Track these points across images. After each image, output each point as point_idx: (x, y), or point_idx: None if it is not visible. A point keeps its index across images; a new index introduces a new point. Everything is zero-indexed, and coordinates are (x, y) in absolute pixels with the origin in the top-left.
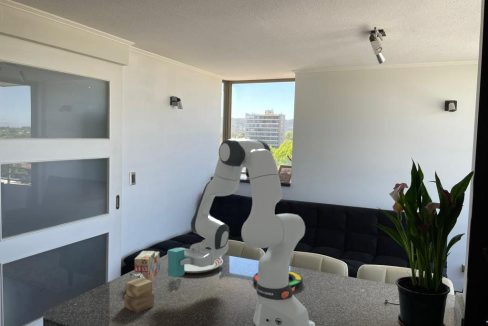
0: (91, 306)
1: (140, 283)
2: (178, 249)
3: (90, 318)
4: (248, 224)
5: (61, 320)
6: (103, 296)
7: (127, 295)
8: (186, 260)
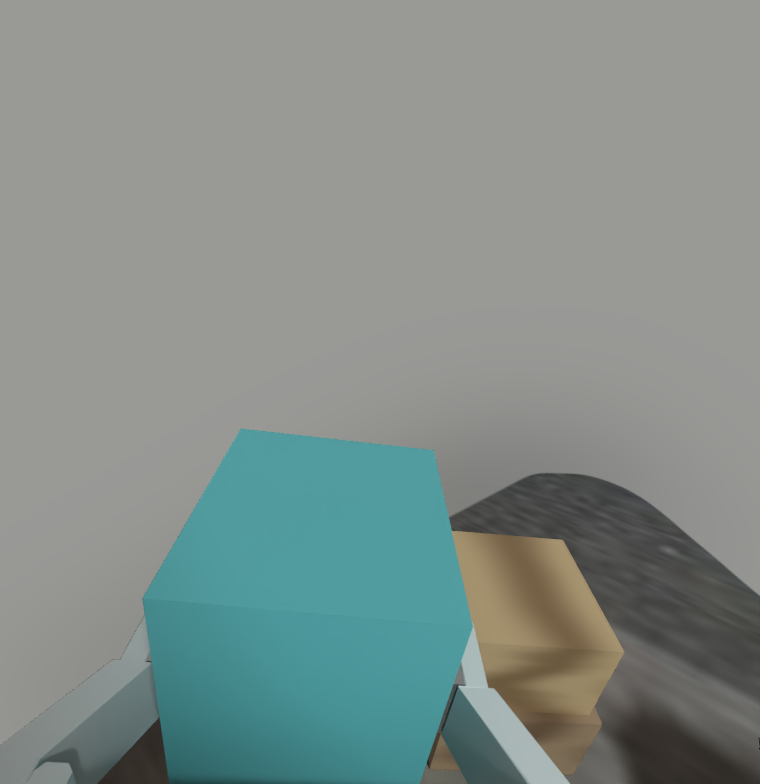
0: (613, 566)
1: (490, 568)
2: (306, 542)
3: (499, 513)
4: None
5: (538, 476)
6: (737, 663)
7: None
8: (76, 702)
